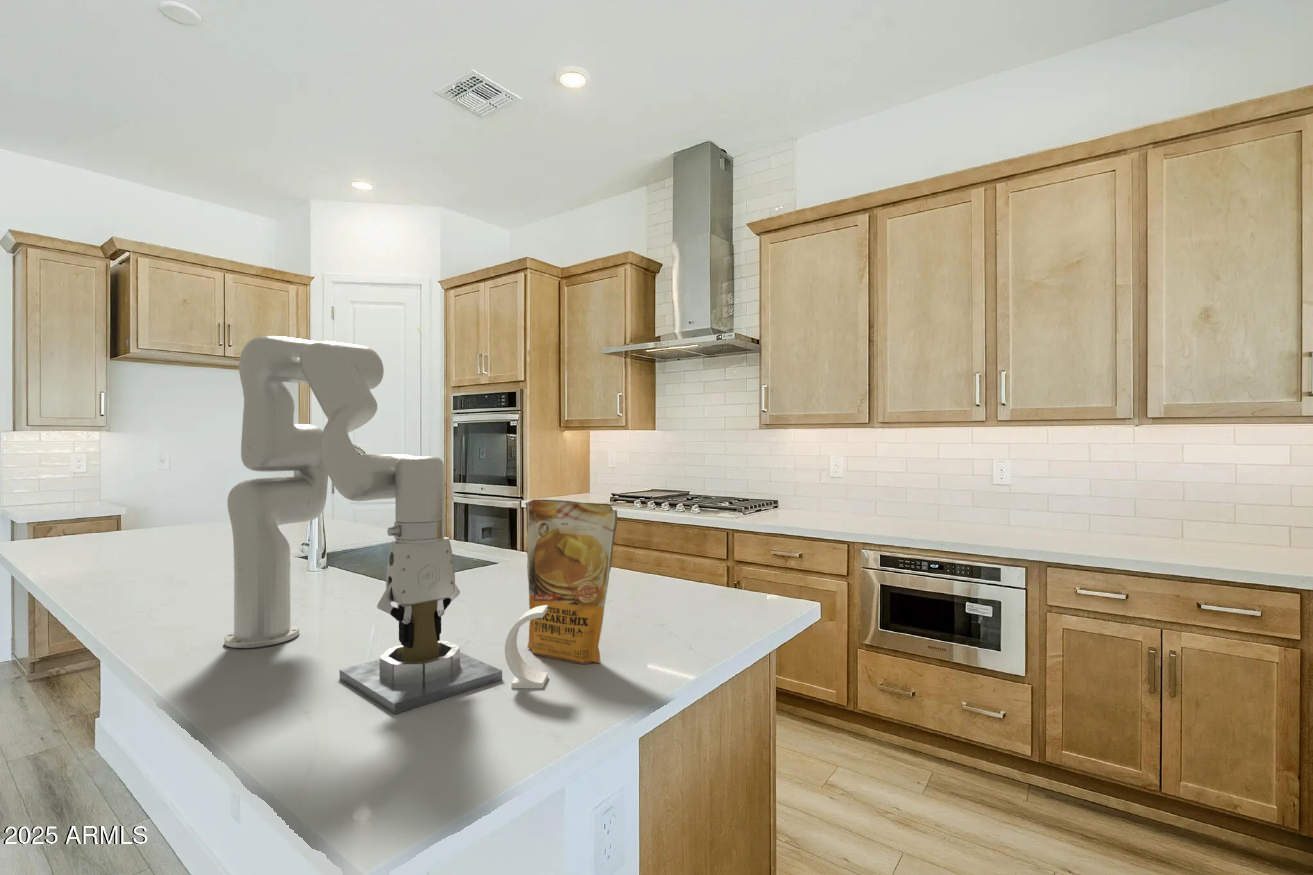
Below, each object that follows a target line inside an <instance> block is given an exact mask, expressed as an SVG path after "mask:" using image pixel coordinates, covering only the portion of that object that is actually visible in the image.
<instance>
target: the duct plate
mask: <svg viewBox="0 0 1313 875" xmlns="http://www.w3.org/2000/svg"><path fill="white" fill-rule="evenodd" d="M438 646H439V653H440V657H438V658H434V659H431V660H427V661H423V662H402V654H403V647H404V646H403V645H401V644H400V645H395V646H392V647H389V648H388V649H387V650H385V651H384V653H382V654H381V655H380V656H379V659H376V660H373V661H369V662H365V663H362V664H357V665H353V666H349V667H346V668H342V669H339V679H340V680H341V681H342V682H344V683H346V684H347V685H348V686H350V687H352V688H353V689H355V690H356V691H358V692H359V693H361V694H363V696H365V697H367V698H368V699H370V700H372V701H373V702H374V703H376V704H378V705H379V706H381V707H382V708H384V709H385V710H386V711H388V712H390V713H392V714H393V715H398V714H401V713H403V712H407V711H409V710H413V709H417V708H420V707H421V706H426V705H428V704H430V703H431V704H433V703H434V702H438V701H440V700H444V699H448V698H450V697H453V696H456V695H460V694H462V693H463V694H464V693H466V692H469V691H471V690H475V689H477V688H481V687H483V686H486V685H490V684H493V683H497V682H499V681H503V670H502V669H500V668H497V667H496V666H493V665H490V664H488V663H486V662H483V661H481V660H479V659H477V658H474V657H472V656H469V655H467V654H466V653H463V652H461V647H460V646H459V645H457V644H455V643H453V642H450V641H448V640H439V641H438Z"/></svg>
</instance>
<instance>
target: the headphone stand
mask: <svg viewBox="0 0 1313 875" xmlns="http://www.w3.org/2000/svg"><path fill="white" fill-rule="evenodd" d="M547 610H548V605H542V606H538V607H535V608H532V609H530V608H529V609H528V610H527V611H526V612H525V613H523V614H522V615H521V616H520V618H519V619H517V621H516V622H515V623H514V625H513V626H512V628H511V629H510V630H509V633H508V634H507V636H506V639H505V642H504V643H505V644H504V655H505V661H506V664H507V666H508V668H509V670H510V671H511V673H512V674H513V675H514V678H513V680H512V681H511V689H544V686H545V684H546V683H547V681H548V679H549V678H548V677H549V672H546V671H540V670H537V669H534V668H533V667H531V666H529V665H528V664H527V663H526V662H525V661H524V659H523V658H522V656H521V654H520V652H519V647H518V644H517V642H518V633H519V631H520V628H521V626H524V624H525V623H527V622H530V620H532V619H536V618H543V616H544V615H545V613H546V612H547Z"/></svg>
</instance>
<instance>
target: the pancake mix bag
mask: <svg viewBox="0 0 1313 875" xmlns="http://www.w3.org/2000/svg"><path fill="white" fill-rule="evenodd" d="M525 506H526V507H525V508H526V509H525V510H526V534H527V538H526V539H527V540H526V545H527V546H526V553H527V571H526V572H527V581H528V596H529V598H528V600H529V601H528V602H529V603H528V606H529V610H530V609H532V608H535V607H538V606H542V605H548V610H547V612H546V613H545V615H544V616H543V618H536V619H532V620H530V621H529V629H528V643H527V647H526V648H527V649H529V650H531V653H532V654H534V655H538V656H542V657H546V658H550V659H555V660H558V661H559V660H561V661H565V662H569V663H573V664H579V665H580V664H581V665H587V664H592V663H602V662H601V653H600V649H599V645H600V639H601V633H602V629H603V628H602V626H603V622H604V617H605V616H604V614H605V605H606V599H607V592H608V587H609V580H610V573H611V568H612V563H613V562H612V561H613V552H614V543H615V537H616V531H617V527H618V510H617V509H613V507H612V505H611V504H608V503H600V502H599V503H597V502H595V503H594V502H578V501H572V500H559V499H558V500H557V499H532V500H529V501H527V502H526V503H525Z"/></svg>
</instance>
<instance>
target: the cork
mask: <svg viewBox="0 0 1313 875" xmlns="http://www.w3.org/2000/svg"><path fill="white" fill-rule="evenodd" d="M437 603H438V602H437V600H436V601H431V602H426V603H421V604H416V605H412V613H411V623H413V624H414V641H413V647H412V648H407V647H405V646H404V647H403V654H402V662H423V661H427V660H431V659H434V658H438V657H440V653H439V646H438V641H437V635H436V629H435V619H434V613H435V611H436V610H437Z"/></svg>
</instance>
